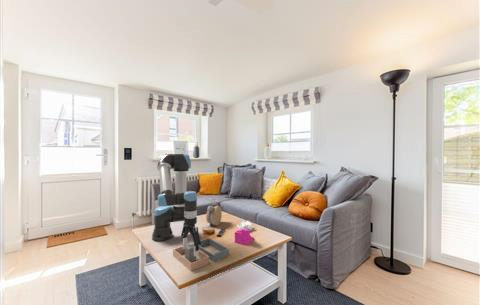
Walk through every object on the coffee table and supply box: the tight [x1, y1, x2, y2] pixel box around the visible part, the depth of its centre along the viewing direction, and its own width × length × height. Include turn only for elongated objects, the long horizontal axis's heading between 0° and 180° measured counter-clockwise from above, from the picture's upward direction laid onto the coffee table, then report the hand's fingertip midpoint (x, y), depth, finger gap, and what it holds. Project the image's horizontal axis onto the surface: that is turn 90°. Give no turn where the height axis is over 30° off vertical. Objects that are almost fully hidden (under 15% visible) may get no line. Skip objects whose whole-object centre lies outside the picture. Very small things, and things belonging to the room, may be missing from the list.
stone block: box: [184, 243, 197, 263], centre depth 130 cm, size 5×5×8 cm
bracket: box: [234, 229, 254, 246], centre depth 158 cm, size 12×10×10 cm
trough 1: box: [172, 243, 210, 272], centre depth 130 cm, size 23×12×4 cm, turn 42°
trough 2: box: [193, 237, 230, 262], centre depth 140 cm, size 23×12×4 cm, turn 42°
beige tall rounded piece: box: [205, 198, 223, 227], centre depth 192 cm, size 17×9×23 cm, turn 164°
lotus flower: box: [236, 219, 254, 232], centre depth 179 cm, size 14×15×9 cm
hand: (190, 251), depth 130 cm, fingers open, 13 cm apart
